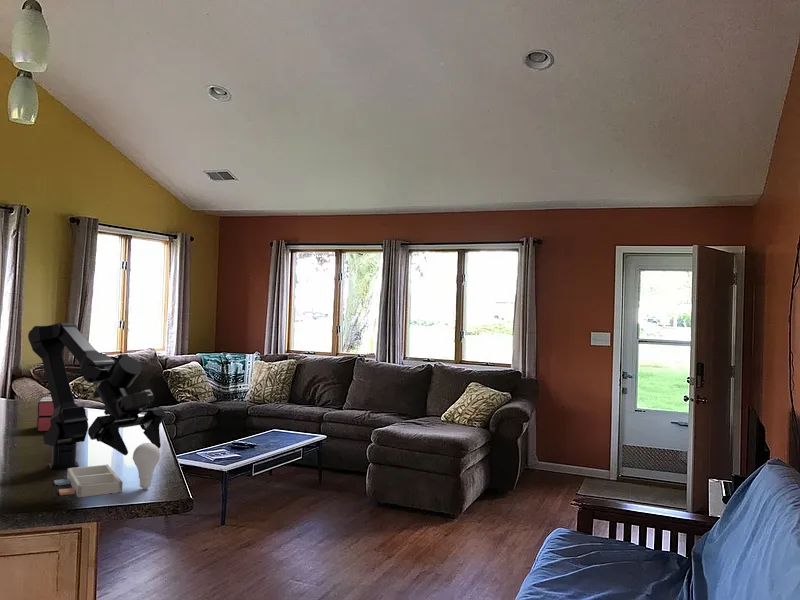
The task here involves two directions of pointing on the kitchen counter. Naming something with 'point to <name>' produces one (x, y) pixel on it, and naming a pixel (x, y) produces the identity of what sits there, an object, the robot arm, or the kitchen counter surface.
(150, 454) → the lightbulb
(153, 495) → the kitchen counter surface
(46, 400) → the puzzle cube
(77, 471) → the socket board
